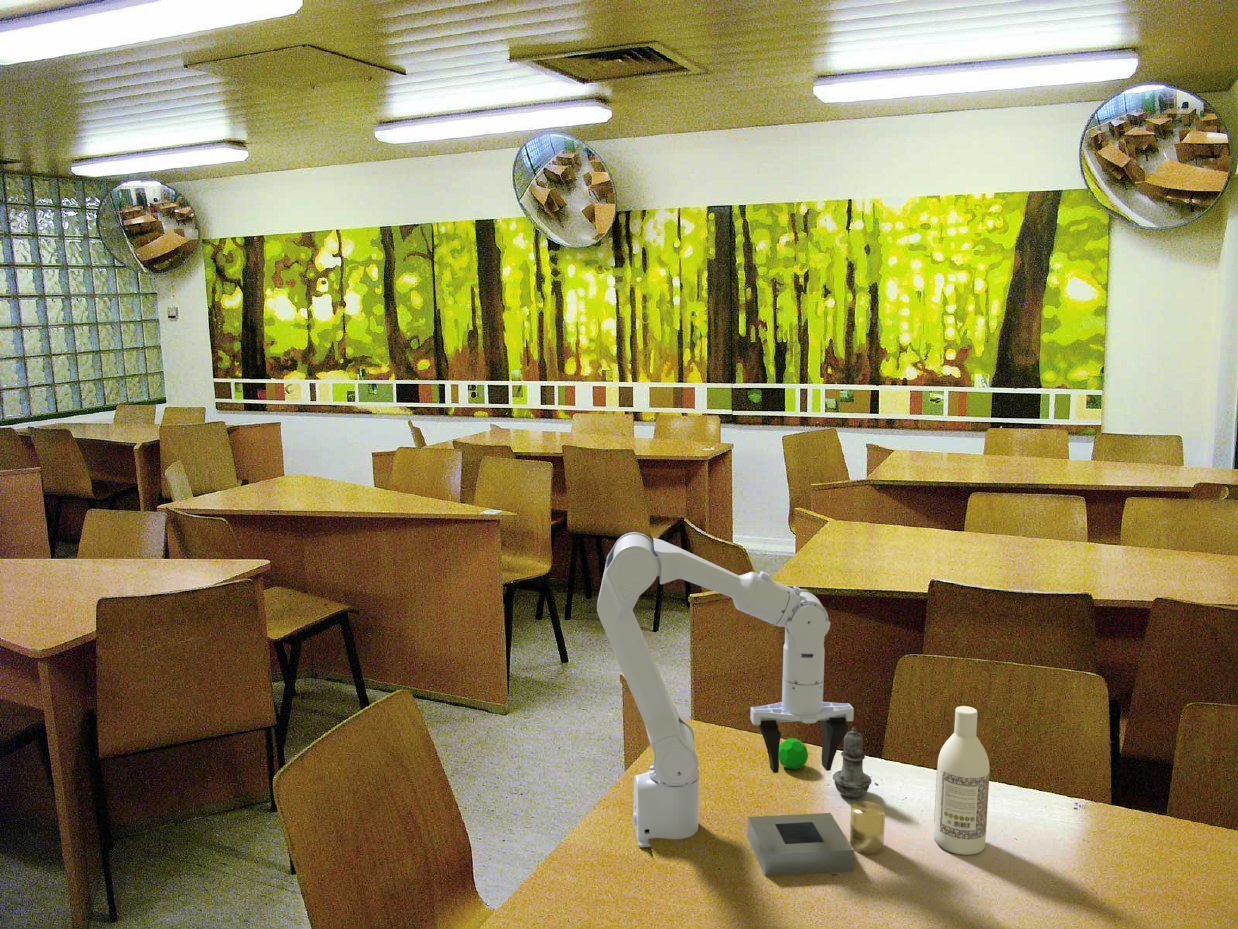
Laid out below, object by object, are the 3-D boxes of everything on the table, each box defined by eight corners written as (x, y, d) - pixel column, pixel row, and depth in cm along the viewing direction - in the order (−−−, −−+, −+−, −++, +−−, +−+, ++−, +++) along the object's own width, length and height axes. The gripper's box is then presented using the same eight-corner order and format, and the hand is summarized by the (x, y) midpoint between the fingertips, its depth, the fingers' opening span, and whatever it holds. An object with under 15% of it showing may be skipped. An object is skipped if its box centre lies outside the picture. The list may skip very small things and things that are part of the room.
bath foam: (993, 856, 137) (1001, 719, 134) (943, 857, 137) (951, 720, 134) (973, 830, 144) (981, 699, 141) (926, 831, 144) (933, 700, 141)
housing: (764, 883, 130) (765, 854, 130) (747, 843, 140) (747, 817, 140) (852, 878, 132) (853, 850, 131) (829, 839, 141) (830, 813, 141)
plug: (855, 862, 135) (857, 818, 134) (844, 845, 140) (846, 802, 139) (888, 861, 136) (890, 816, 135) (876, 843, 140) (878, 800, 139)
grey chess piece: (861, 813, 149) (864, 737, 147) (825, 801, 152) (827, 728, 151) (876, 798, 154) (879, 725, 152) (841, 787, 157) (844, 716, 155)
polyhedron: (800, 777, 161) (800, 749, 160) (772, 769, 163) (773, 742, 163) (811, 765, 165) (812, 738, 164) (784, 758, 168) (785, 731, 167)
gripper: (759, 690, 135) (757, 784, 137) (862, 686, 136) (858, 779, 138) (747, 672, 142) (745, 761, 144) (845, 668, 143) (842, 757, 145)
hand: (800, 768), depth 142 cm, fingers open, 7 cm apart
